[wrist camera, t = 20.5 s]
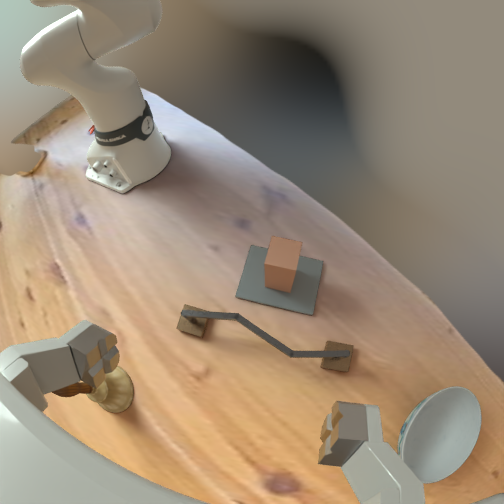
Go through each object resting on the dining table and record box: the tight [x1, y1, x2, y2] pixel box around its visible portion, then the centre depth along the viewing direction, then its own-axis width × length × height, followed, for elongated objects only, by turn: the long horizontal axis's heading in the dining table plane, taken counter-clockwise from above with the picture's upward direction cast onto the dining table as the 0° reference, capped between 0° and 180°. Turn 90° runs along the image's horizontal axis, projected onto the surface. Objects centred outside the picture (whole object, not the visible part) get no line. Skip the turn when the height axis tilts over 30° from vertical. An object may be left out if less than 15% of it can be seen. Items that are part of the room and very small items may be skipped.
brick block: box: [264, 236, 302, 293], centre depth 39 cm, size 4×4×9 cm
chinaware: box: [398, 387, 481, 483], centre depth 27 cm, size 15×15×8 cm
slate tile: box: [235, 245, 323, 315], centre depth 43 cm, size 12×9×1 cm
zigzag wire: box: [176, 304, 353, 372], centre depth 36 cm, size 26×4×6 cm, turn 74°
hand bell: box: [52, 366, 134, 413], centre depth 29 cm, size 8×8×16 cm
